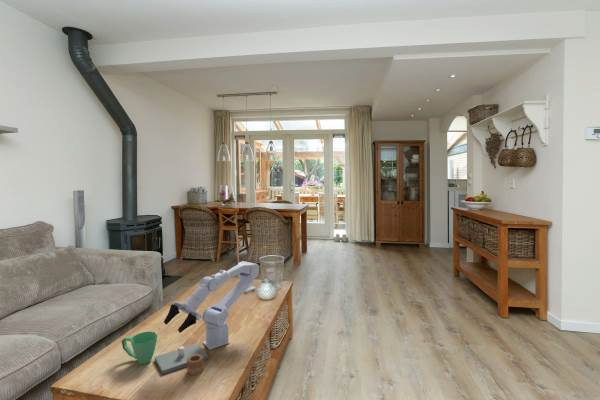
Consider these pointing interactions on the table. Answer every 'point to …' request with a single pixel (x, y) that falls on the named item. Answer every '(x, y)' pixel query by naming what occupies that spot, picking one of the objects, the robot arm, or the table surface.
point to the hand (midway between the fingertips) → (171, 327)
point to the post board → (178, 358)
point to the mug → (141, 346)
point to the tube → (195, 364)
